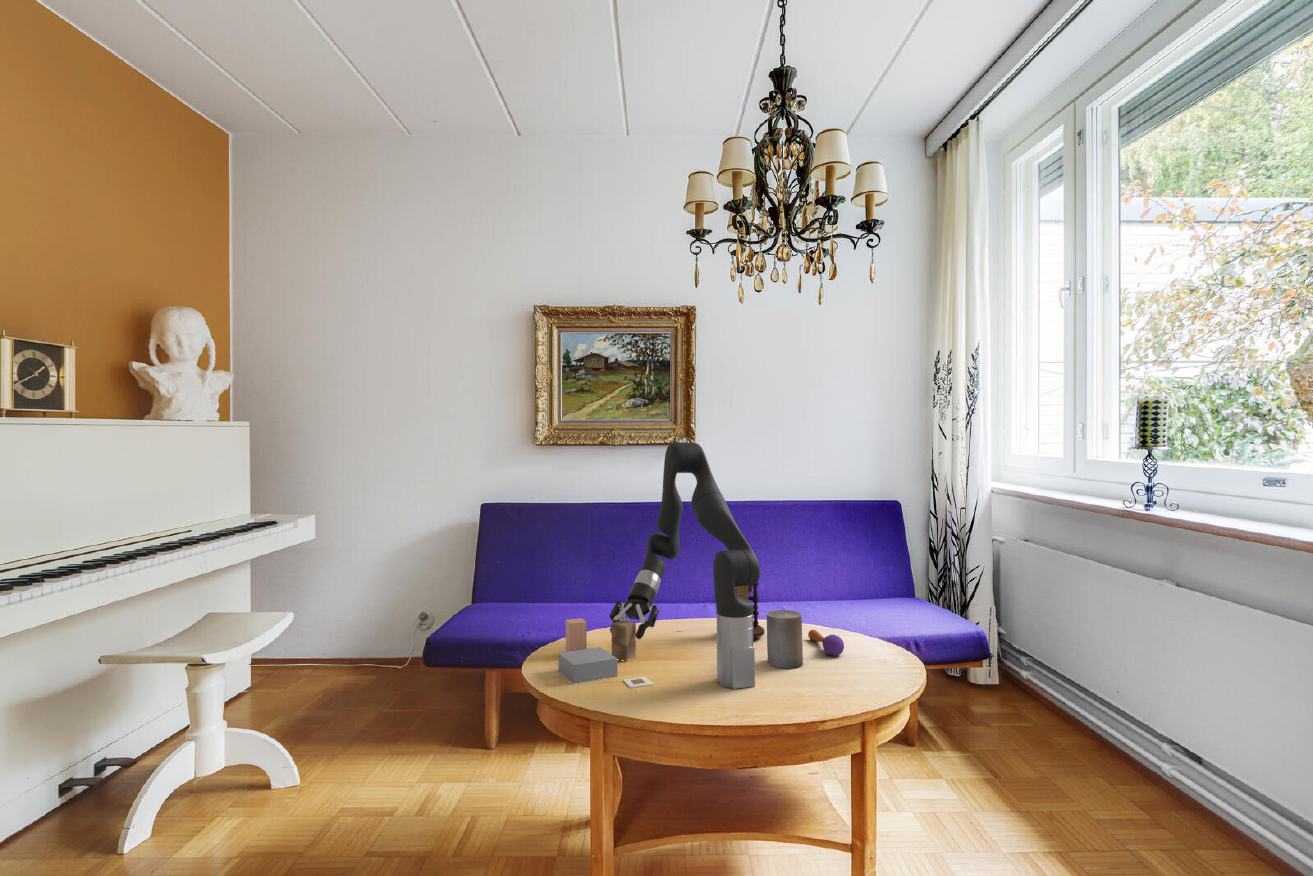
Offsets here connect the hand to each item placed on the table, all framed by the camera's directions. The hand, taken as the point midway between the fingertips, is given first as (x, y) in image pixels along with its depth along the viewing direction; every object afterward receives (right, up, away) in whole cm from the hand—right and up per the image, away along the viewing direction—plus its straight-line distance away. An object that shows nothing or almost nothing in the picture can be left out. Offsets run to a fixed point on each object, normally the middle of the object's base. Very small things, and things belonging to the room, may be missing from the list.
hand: (625, 635), depth 185 cm
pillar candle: (+45, -6, -6) cm, 45 cm away
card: (+4, -5, -22) cm, 23 cm away
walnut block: (0, -6, -1) cm, 6 cm away
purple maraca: (+59, -7, +8) cm, 60 cm away
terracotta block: (-14, -7, +2) cm, 16 cm away
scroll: (+36, -7, +21) cm, 43 cm away
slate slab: (-9, -6, -14) cm, 18 cm away
